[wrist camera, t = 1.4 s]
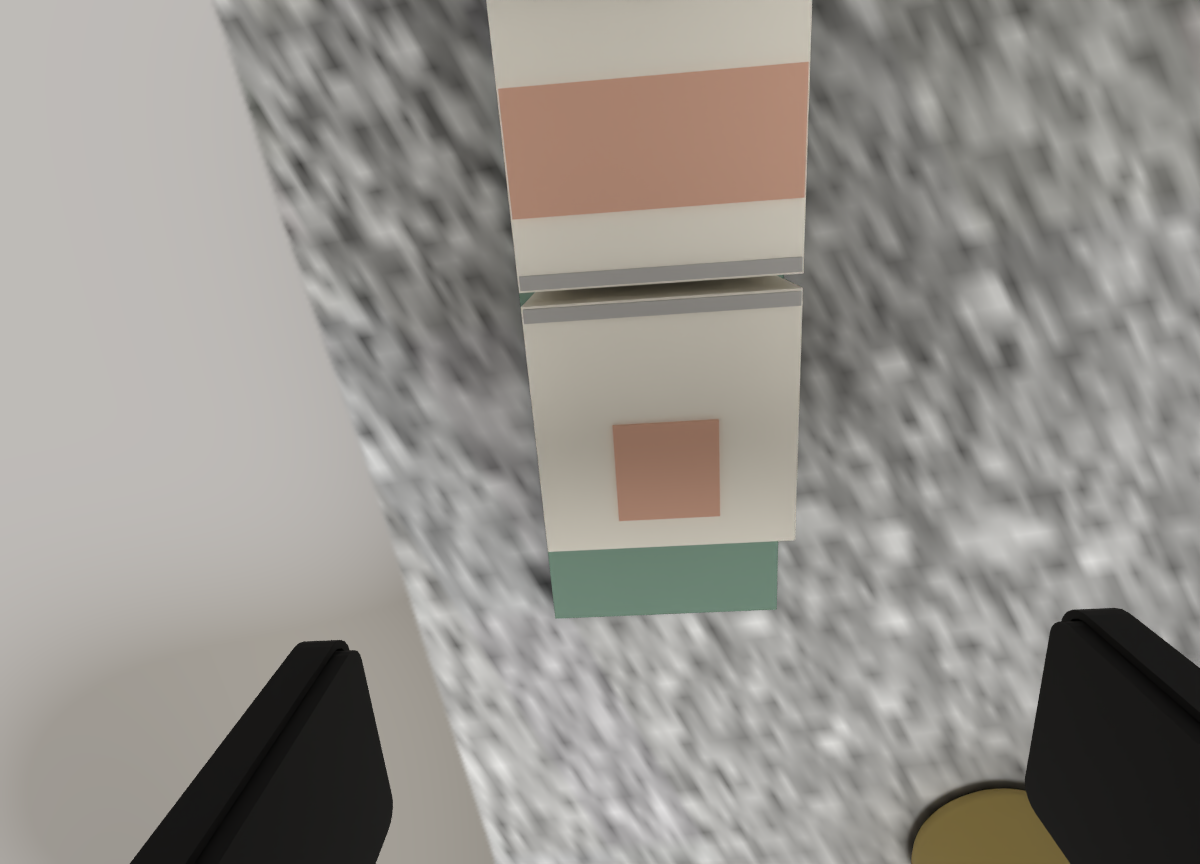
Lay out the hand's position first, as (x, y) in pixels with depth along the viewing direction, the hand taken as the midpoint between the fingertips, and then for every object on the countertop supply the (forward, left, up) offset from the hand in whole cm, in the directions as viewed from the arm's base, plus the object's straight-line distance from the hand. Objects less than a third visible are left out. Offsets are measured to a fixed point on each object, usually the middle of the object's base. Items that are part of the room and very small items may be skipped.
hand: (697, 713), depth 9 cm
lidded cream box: (-9, 0, -13) cm, 16 cm away
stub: (-2, 0, -13) cm, 13 cm away
